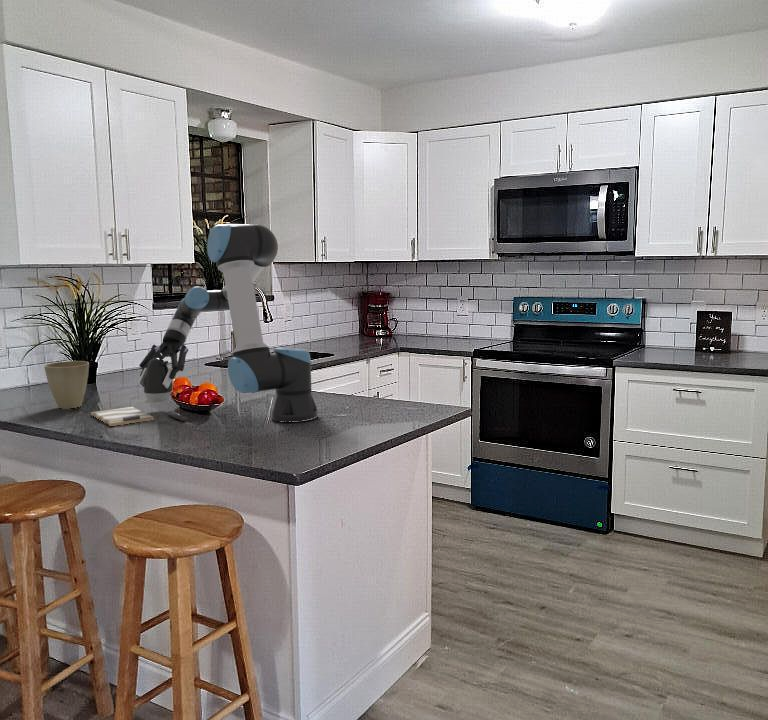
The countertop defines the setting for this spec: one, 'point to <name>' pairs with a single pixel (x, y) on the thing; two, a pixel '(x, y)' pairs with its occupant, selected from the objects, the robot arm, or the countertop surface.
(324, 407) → the countertop surface
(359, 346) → the countertop surface
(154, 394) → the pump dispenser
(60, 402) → the plant pot
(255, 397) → the countertop surface
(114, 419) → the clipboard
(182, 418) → the black marker
